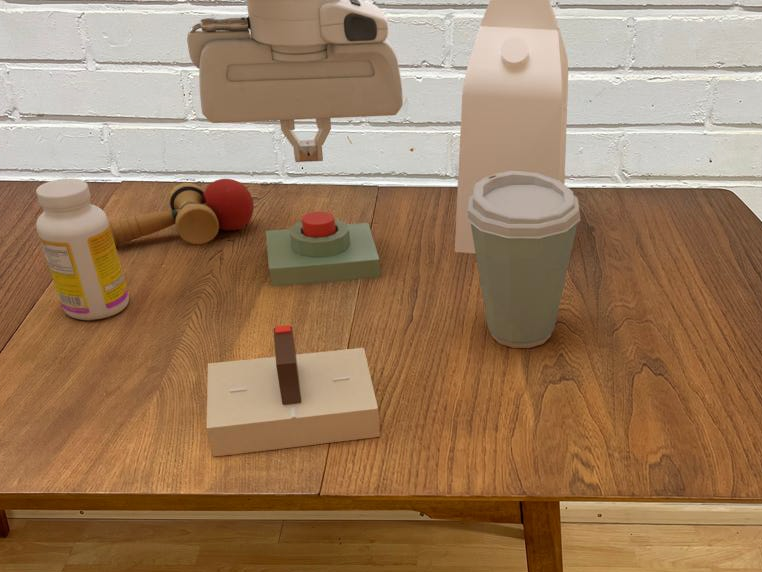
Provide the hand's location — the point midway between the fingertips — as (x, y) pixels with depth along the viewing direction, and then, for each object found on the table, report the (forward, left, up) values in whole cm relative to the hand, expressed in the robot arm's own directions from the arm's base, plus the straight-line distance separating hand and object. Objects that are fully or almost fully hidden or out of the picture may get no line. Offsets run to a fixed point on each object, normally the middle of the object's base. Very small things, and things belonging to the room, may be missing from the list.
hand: (308, 160), depth 95 cm
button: (0, 0, -8) cm, 8 cm away
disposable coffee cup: (+18, -20, -12) cm, 30 cm away
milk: (+23, +3, -12) cm, 26 cm away
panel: (-5, -30, -12) cm, 32 cm away
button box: (0, 0, -12) cm, 12 cm away
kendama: (-16, +10, -12) cm, 22 cm away
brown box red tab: (-5, -30, -9) cm, 31 cm away
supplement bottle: (-24, -6, -12) cm, 27 cm away
